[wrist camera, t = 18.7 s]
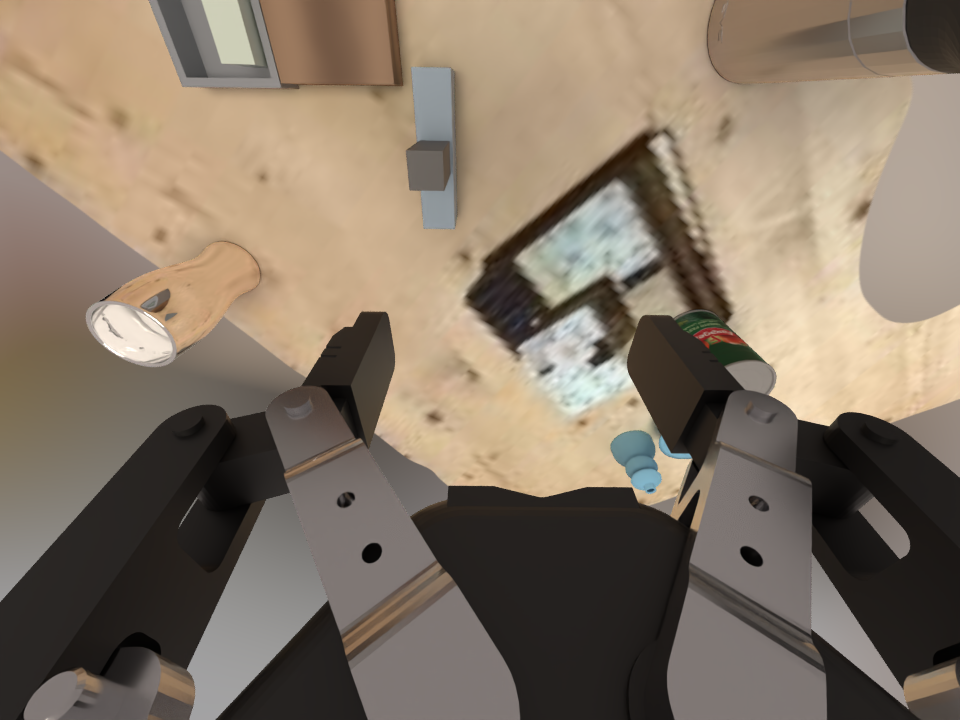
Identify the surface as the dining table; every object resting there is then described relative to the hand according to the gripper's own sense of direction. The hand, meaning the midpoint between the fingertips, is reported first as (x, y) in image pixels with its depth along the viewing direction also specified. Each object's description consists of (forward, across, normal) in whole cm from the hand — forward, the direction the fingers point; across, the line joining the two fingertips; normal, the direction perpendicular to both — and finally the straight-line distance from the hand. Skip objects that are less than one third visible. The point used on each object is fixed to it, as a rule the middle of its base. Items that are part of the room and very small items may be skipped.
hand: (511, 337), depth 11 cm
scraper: (+30, +5, -2) cm, 31 cm away
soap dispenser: (+30, -29, +37) cm, 56 cm away
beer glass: (+30, +30, +10) cm, 44 cm away
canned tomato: (+30, -27, +19) cm, 45 cm away
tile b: (+27, +18, -10) cm, 34 cm away
